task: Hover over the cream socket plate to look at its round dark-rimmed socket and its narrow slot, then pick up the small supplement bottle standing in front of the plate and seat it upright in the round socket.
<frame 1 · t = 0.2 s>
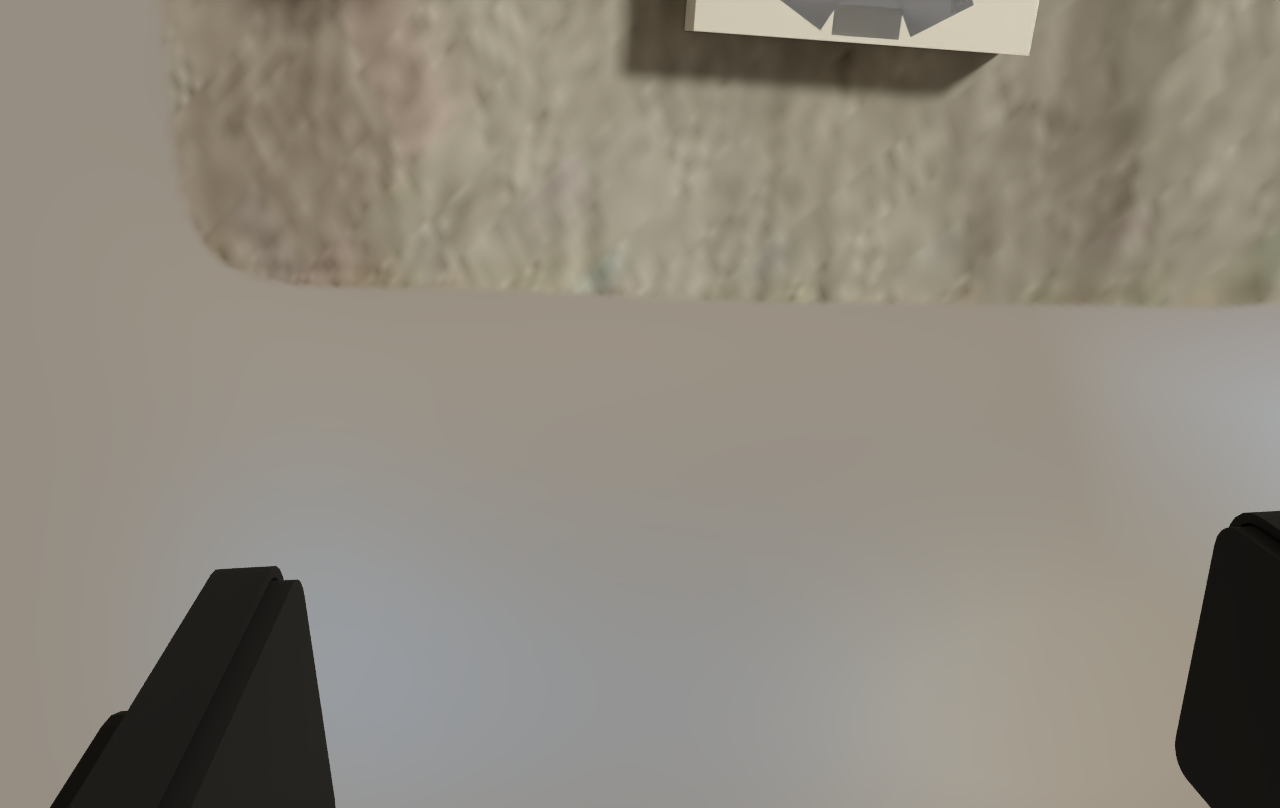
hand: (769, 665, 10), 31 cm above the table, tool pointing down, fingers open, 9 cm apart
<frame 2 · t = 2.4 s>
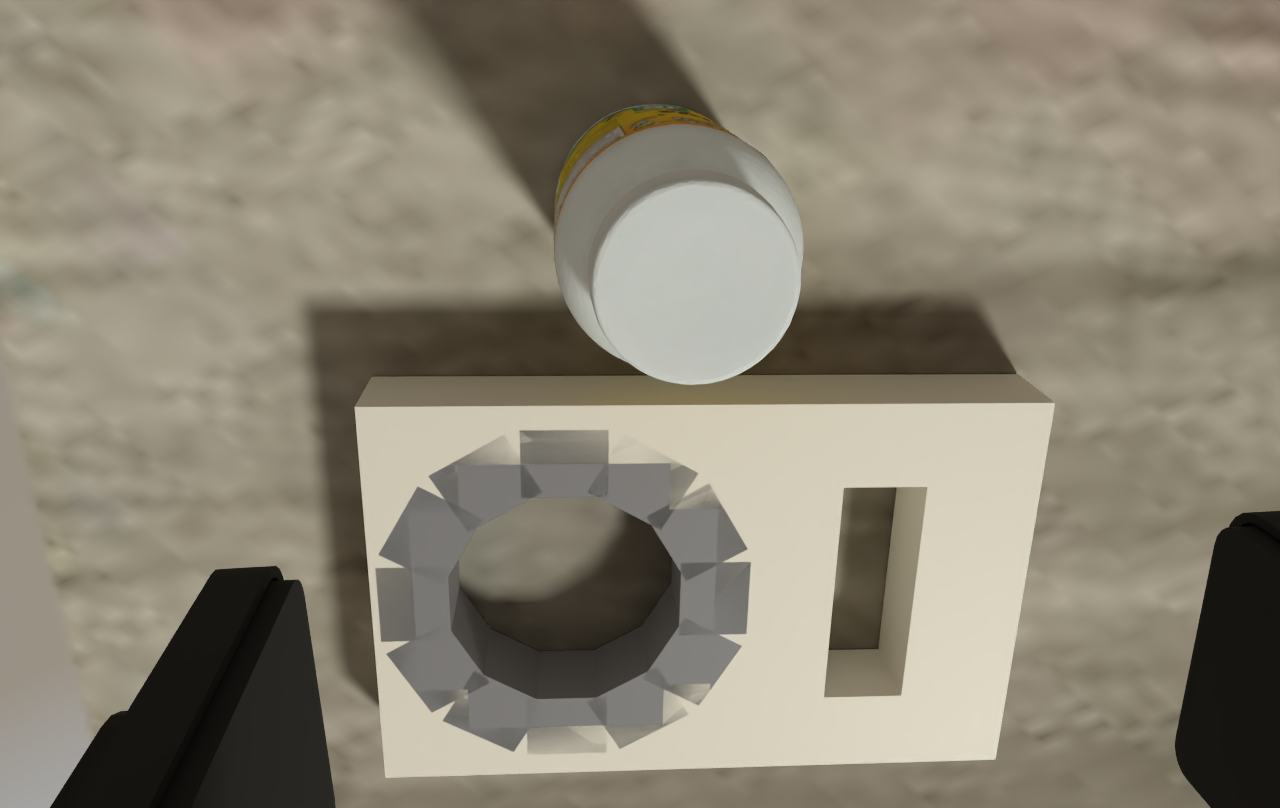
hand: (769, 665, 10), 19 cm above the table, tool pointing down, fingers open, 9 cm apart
supplement bottle: (653, 201, 28), on the table
socket plate: (694, 557, 32), on the table
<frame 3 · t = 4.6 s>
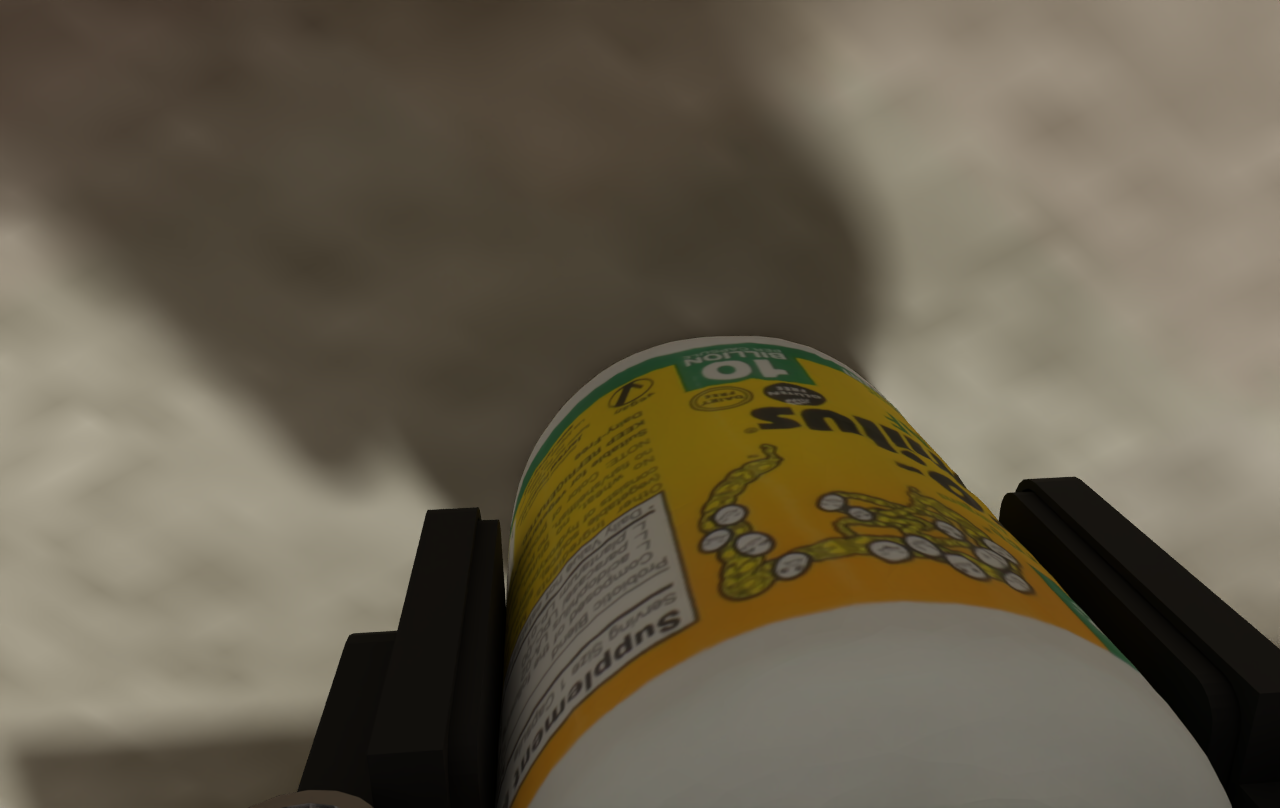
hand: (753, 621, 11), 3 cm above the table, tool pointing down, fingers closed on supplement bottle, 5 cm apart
supplement bottle: (716, 510, 14), on the table, touching gripper
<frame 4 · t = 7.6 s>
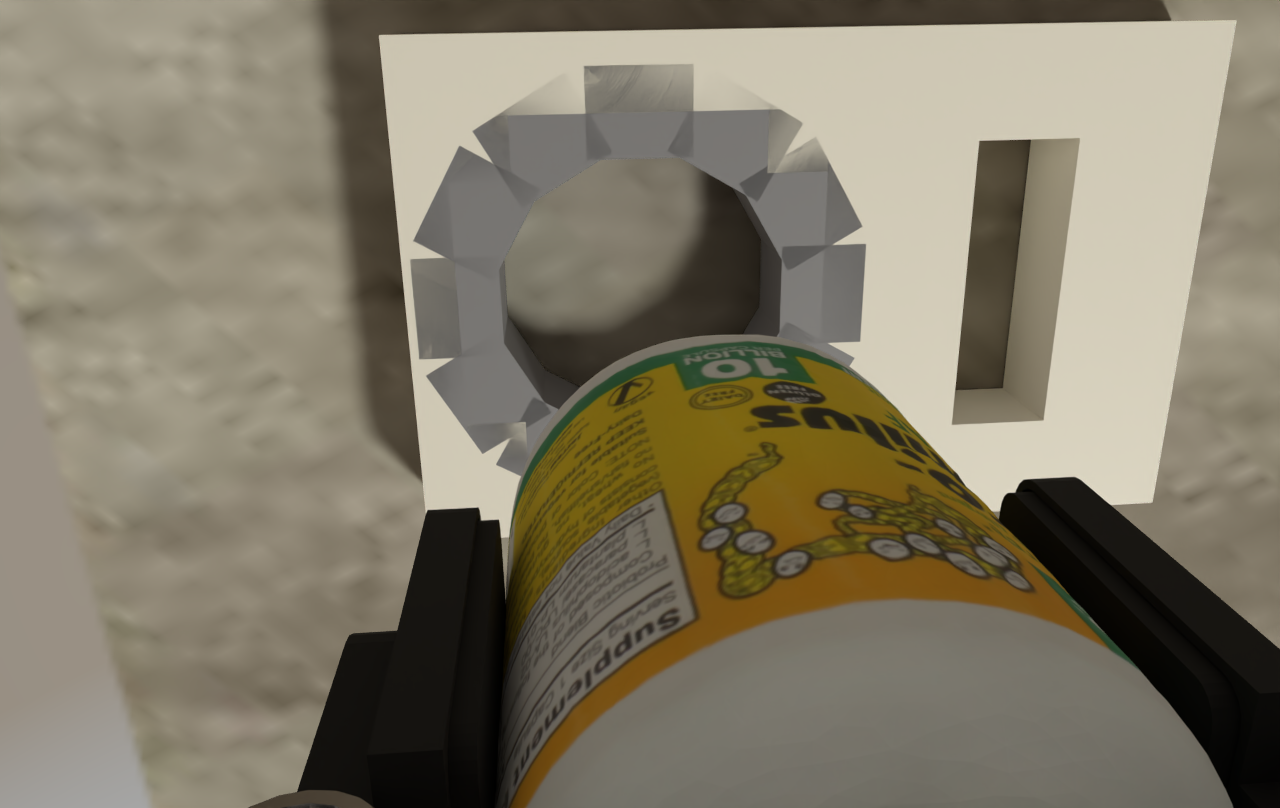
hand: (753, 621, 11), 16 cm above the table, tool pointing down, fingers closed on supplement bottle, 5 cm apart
supplement bottle: (715, 509, 14), point 14 cm above the table, touching gripper
socket plate: (786, 272, 27), on the table
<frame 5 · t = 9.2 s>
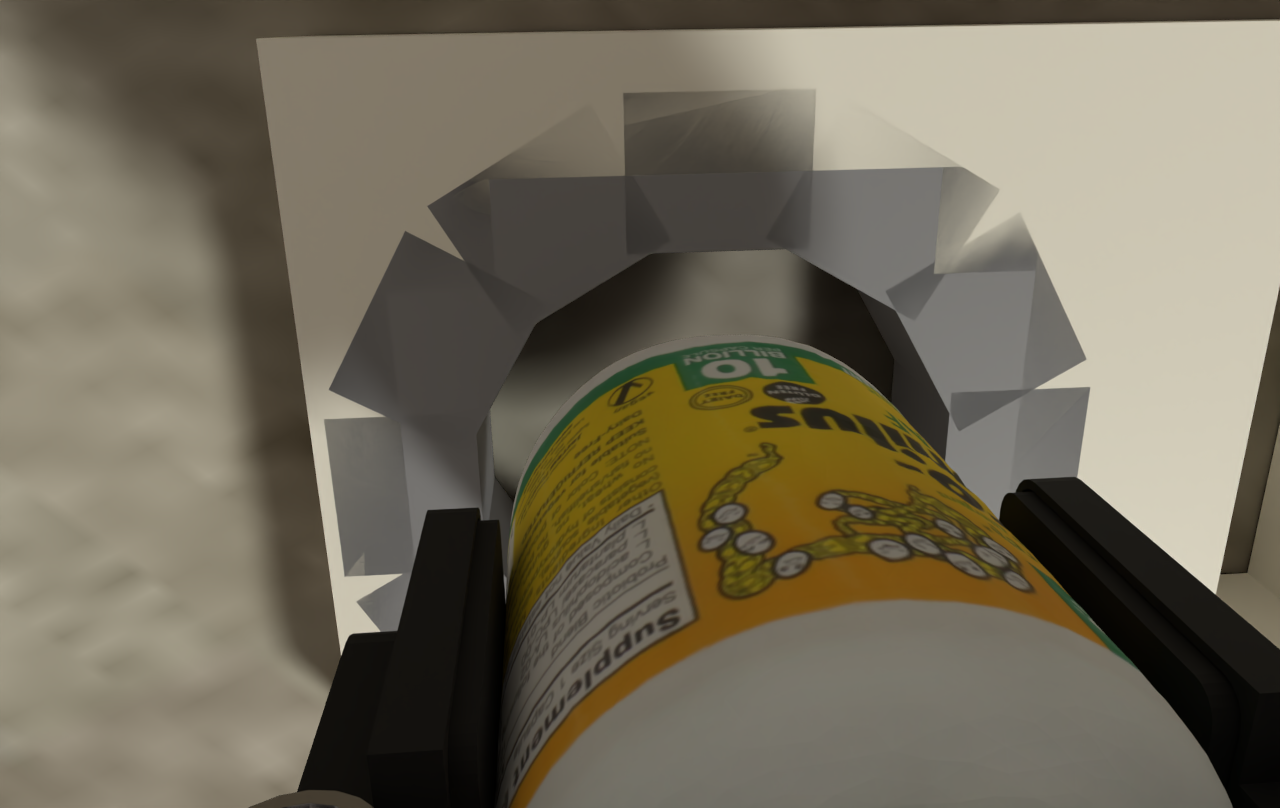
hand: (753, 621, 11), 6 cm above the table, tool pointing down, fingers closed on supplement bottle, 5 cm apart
supplement bottle: (715, 510, 14), point 3 cm above the table, touching gripper
socket plate: (931, 408, 17), on the table
when the fingers open (4 cm above the table, at t = 10.5 s): supplement bottle drops 1 cm, resting in socket plate.
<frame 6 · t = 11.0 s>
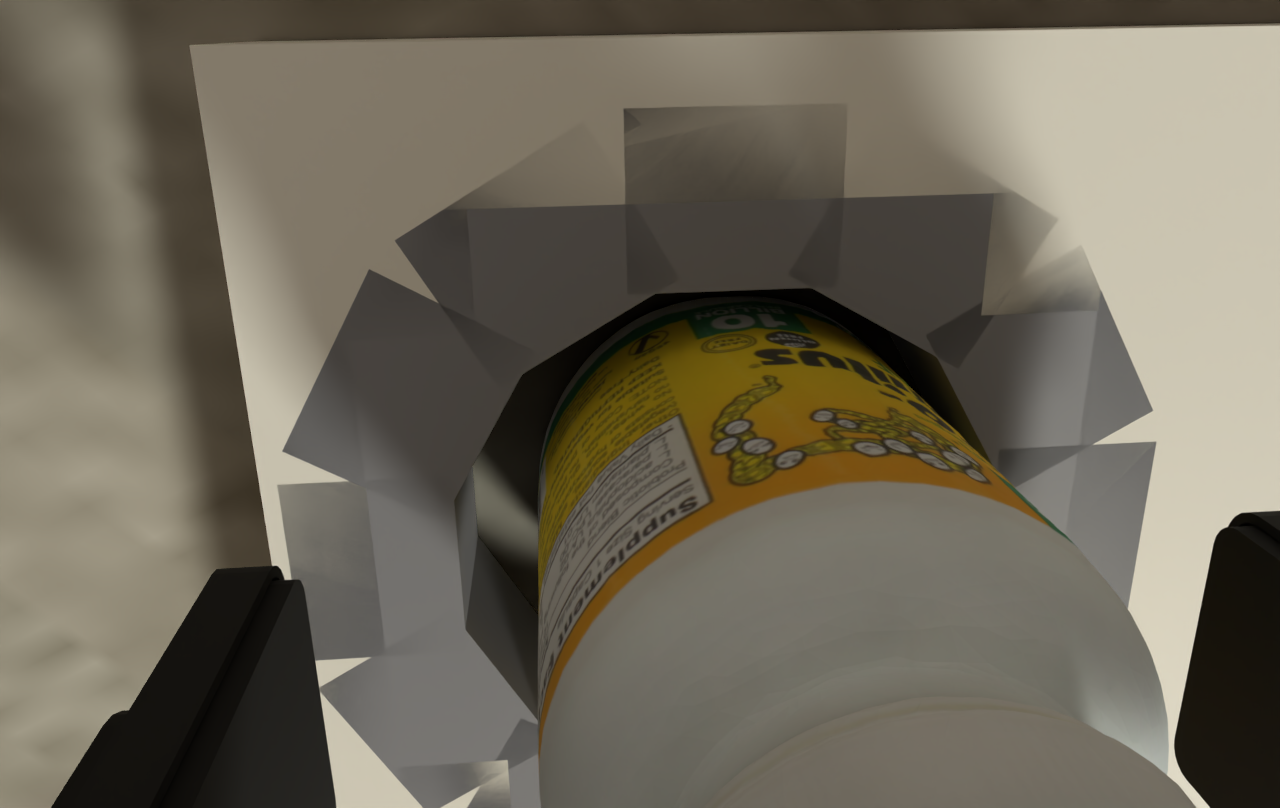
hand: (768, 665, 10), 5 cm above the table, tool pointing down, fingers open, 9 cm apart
supplement bottle: (722, 458, 15), resting in socket plate
socket plate: (967, 456, 15), on the table
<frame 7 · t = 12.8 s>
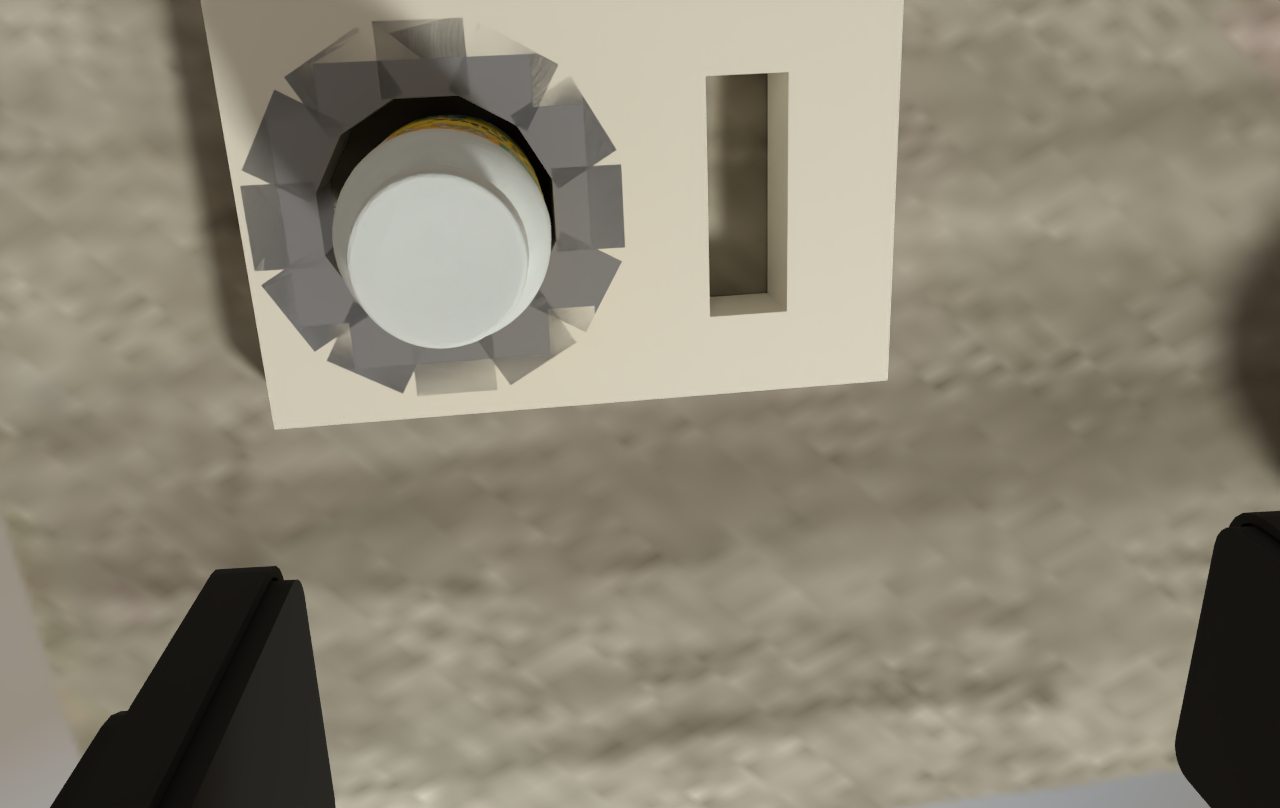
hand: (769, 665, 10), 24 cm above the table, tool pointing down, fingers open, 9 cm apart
supplement bottle: (455, 200, 32), resting in socket plate
socket plate: (573, 197, 32), on the table
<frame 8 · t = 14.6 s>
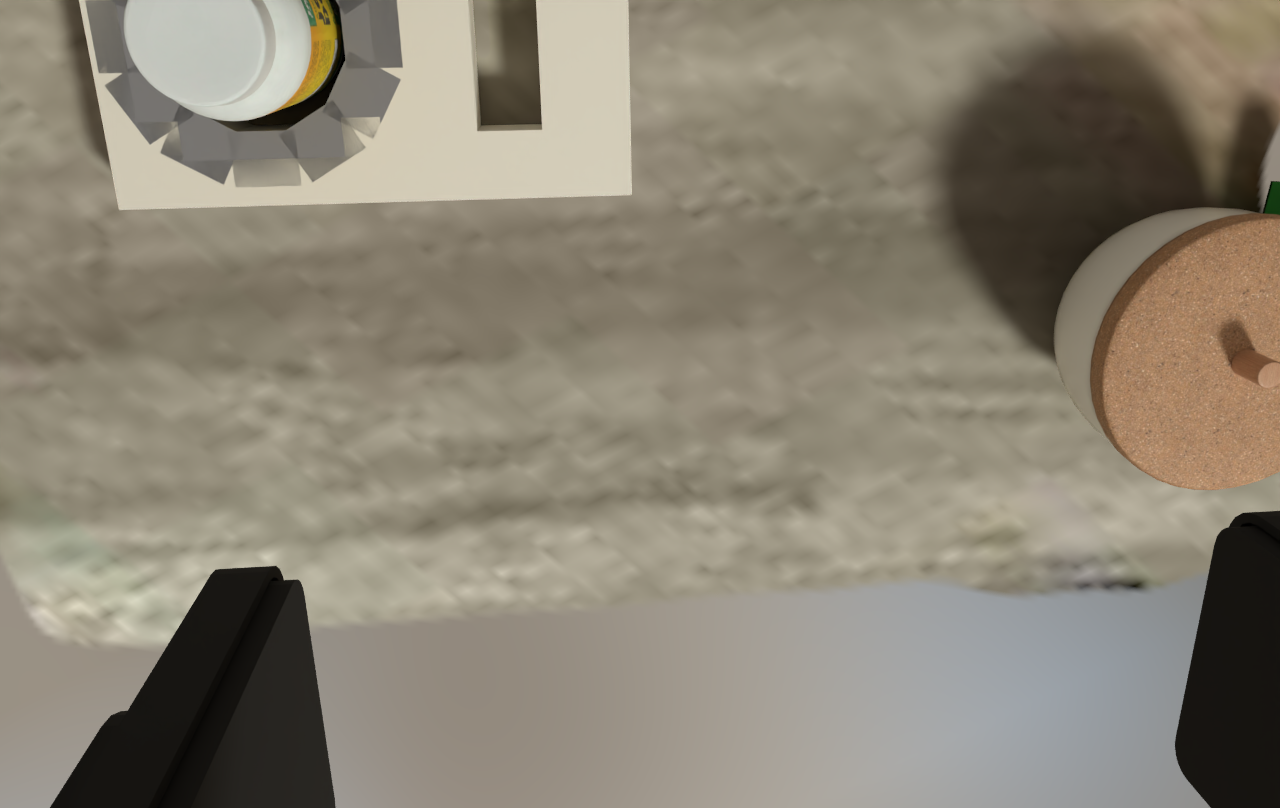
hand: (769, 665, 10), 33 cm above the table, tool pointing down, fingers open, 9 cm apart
pipe clamp: (1269, 309, 46), on the table, touching lidded jar
supplement bottle: (276, 32, 39), resting in socket plate
lidded jar: (1128, 306, 46), on the table, touching pipe clamp
socket plate: (373, 32, 39), on the table
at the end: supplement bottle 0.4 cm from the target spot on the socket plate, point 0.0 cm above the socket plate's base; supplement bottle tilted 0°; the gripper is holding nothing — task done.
